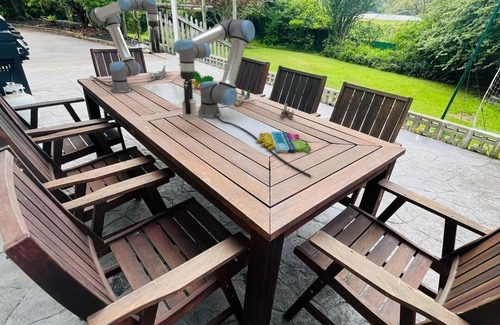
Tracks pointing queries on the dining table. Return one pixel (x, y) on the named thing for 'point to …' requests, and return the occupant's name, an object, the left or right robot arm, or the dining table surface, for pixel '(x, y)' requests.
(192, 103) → the block
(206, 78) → the ornament
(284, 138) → the sign
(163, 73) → the airplane
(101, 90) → the dining table surface
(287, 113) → the jawbone
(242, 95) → the toy
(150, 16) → the left robot arm
